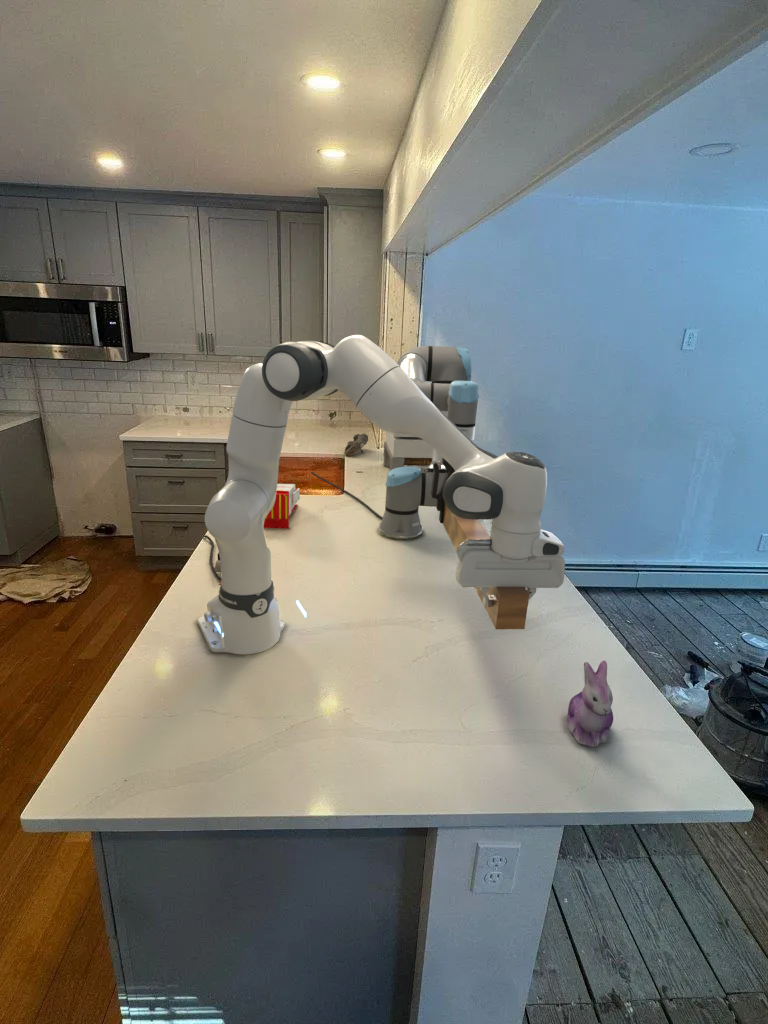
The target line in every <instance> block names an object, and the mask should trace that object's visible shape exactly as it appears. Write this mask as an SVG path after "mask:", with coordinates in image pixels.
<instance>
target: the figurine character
mask: <svg viewBox="0 0 768 1024" xmlns="http://www.w3.org/2000/svg"><path fill="white" fill-rule="evenodd" d="M214 569H215V572H216V573H220V574H221V565H220V556H219V552H217V560H216V562H215V564H214Z"/></svg>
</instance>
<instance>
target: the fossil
mask: <svg viewBox="0 0 768 1024" xmlns="http://www.w3.org/2000/svg"><path fill="white" fill-rule="evenodd" d="M352 439H353V440H350V441H349V440H348V442H347V445H346V446H345V448H344V453H343V454H344V456H345V457H351V456H353V455H356V454H357V453H358V452H359V451H360V452H362V453H364V451H363V450H362V449H363V448H364V446H365V445H367V443H368V442H369V435H368V434H366V433H365V432H364V433H361V434H360V433H357V434H354V435H353V437H352Z"/></svg>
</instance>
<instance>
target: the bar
mask: <svg viewBox="0 0 768 1024" xmlns="http://www.w3.org/2000/svg"><path fill="white" fill-rule="evenodd" d="M441 524H442V526H443V528H444V530H445V532H446V534H447V535H448V538H449V540H450V541H451V544H452V546H453V548H454V550H455V552H456V554H458V547H459V545H460V544H461V543H462V542H465V541H466V540H467V539H474V540H479V539H490V533H489V532H488V531H487V530H486V528H485V526H484V525H483V524H482V523H481V520H475V519H463V518H460V517H458V516H456V515H454V514H453V513H452V512H451V511H450V510H449V509H448V508H447V506H446V504H445V508H444V520H443V523H441ZM474 589H475V591H476V594H477V596H478V597H479V599H480V602H481V603H482V606H484V604H483V598H484V596H483V594H482V592H481V590H480V588H479V587H474ZM486 594H487V595H491V596H492V598H493V603H492V604H493V605H492V607H484V610H485V611H486V613H487V615H488V617H489V620H490V621H491V623H492V625H493V628H494V629H495V630H525V629H526V622H527V614H528V607H529V603H528V601H529V602H530V600H529V592H528V591H527V588H525V587H496V588H489V592H486Z"/></svg>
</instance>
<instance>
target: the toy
mask: <svg viewBox="0 0 768 1024" xmlns="http://www.w3.org/2000/svg"><path fill="white" fill-rule="evenodd" d="M300 499H301V490H300V487H298V488H297V489H296V484H295V483H277V491H276V499H275V503H274V506H273V508H272V509H271V511H270V512H269V513H268V515H267V516H266V518H265V521H264V529H282V530H283V529H284V530H285V529H286V530H289V529H290V515H291V513H294V512H295V510H296V509H297V507H298V504H297V503H298V502H299V501H300Z"/></svg>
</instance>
